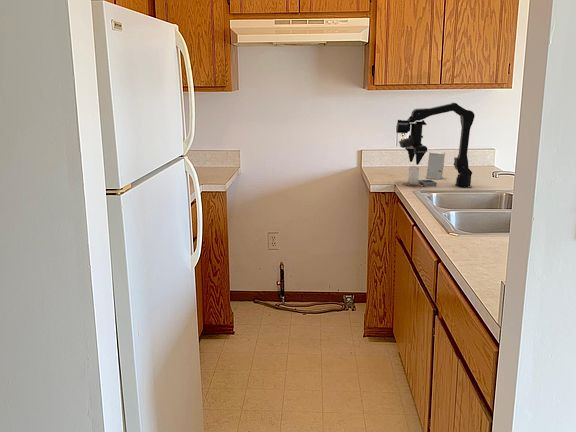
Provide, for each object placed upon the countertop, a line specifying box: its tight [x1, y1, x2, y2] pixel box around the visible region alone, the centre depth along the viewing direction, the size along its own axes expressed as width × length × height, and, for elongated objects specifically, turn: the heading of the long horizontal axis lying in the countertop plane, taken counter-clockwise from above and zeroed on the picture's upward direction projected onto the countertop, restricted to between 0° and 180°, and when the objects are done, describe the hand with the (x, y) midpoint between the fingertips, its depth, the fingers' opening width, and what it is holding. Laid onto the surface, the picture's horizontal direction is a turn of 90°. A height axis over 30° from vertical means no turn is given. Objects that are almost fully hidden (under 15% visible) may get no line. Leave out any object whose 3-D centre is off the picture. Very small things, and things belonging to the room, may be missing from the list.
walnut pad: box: [403, 181, 423, 187], centre depth 299 cm, size 7×7×1 cm
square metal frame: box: [418, 179, 438, 187], centre depth 300 cm, size 7×8×2 cm
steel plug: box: [407, 165, 420, 184], centre depth 298 cm, size 4×4×9 cm
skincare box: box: [425, 151, 446, 180], centre depth 318 cm, size 8×6×15 cm
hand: (414, 163), depth 296 cm, fingers open, 9 cm apart
